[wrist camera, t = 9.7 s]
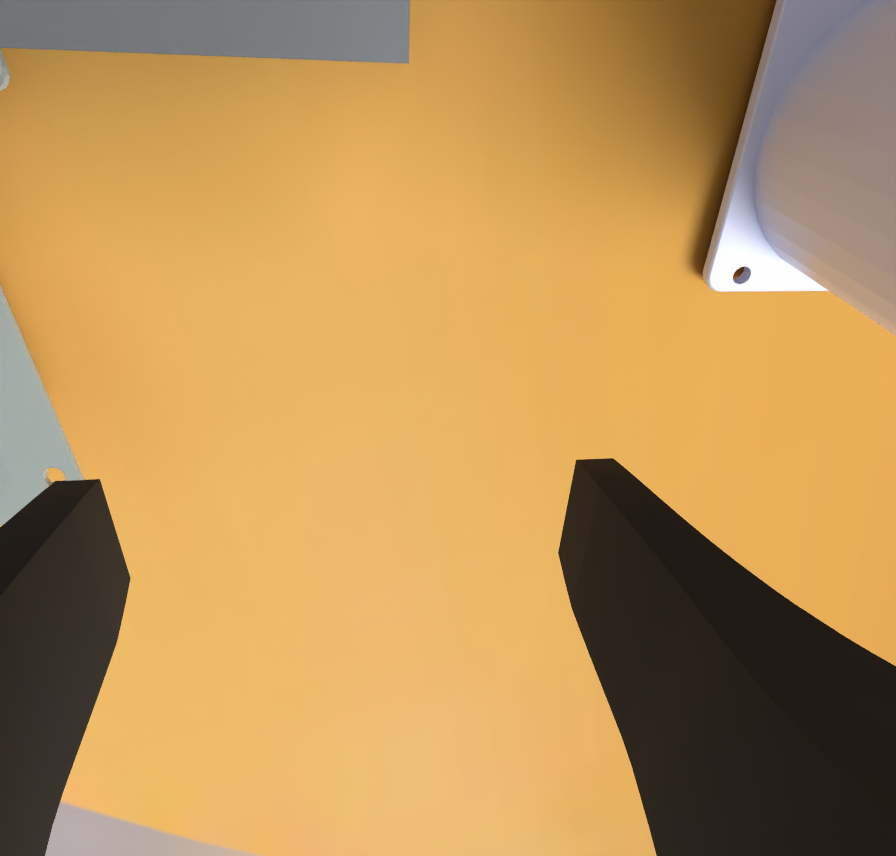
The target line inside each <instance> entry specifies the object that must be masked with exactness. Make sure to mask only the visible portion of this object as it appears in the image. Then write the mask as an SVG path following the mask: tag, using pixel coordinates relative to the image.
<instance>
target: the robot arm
mask: <svg viewBox="0 0 896 856" xmlns="http://www.w3.org/2000/svg"><path fill="white" fill-rule="evenodd" d="M740 267H744V271H743V273H742V275H740V276H739V277H738V278H735V279H733V275H734V273H735V271H736V270H737V269H739V268H740ZM703 280H704V282H705V283H706V284H707V285H708V286H709V287H710V288H711V289H713V290H714V291H719V292H732V291H830V292H831V293H833V294H834V295H836V296H837V297H839V298H840V299H842V300H843V301H845V302H846V303H848V304H849V305H851V306H852V307H853V308H855V309H856V310H858V311H859V312H861V313H862V314H864V315H865V316H867V317H868V318H870V319H871V320H873V321H874V322H876V323H877V324H879V325H880V326H882V327H883V328H885V329H886V330H888V331H889V332H891V333H892V334H894V335H895V336H896V0H777V1H776V4H775V8H774V12H773V16H772V19H771V23H770V27H769V30H768V34H767V38H766V41H765V45H764V49H763V52H762V56H761V60H760V63H759V67H758V71H757V74H756V78H755V82H754V85H753V89H752V93H751V97H750V100H749V104H748V108H747V111H746V115H745V119H744V122H743V126H742V130H741V133H740V137H739V141H738V144H737V148H736V152H735V155H734V159H733V163H732V166H731V170H730V174H729V177H728V181H727V185H726V189H725V192H724V196H723V200H722V203H721V207H720V211H719V214H718V218H717V222H716V225H715V229H714V233H713V236H712V240H711V244H710V247H709V251H708V255H707V258H706V262H705V266H704V270H703ZM558 553H559V558H560V562H561V566H562V570H563V575H564V579H565V583H566V587H567V591H568V595H569V599H570V602H571V606H572V610H573V612H574V615H575V618H576V620H577V623H578V626H579V628H580V631H581V634H582V636H583V639H584V641H585V644H586V647H587V649H588V652H589V654H590V657H591V659H592V662H593V665H594V667H595V670H596V672H597V675H598V677H599V680H600V682H601V685H602V687H603V690H604V693H605V695H606V698H607V700H608V703H609V705H610V708H611V710H612V713H613V716H614V718H615V721H616V723H617V726H618V728H619V731H620V733H621V736H622V739H623V742H624V745H625V747H626V750H627V753H628V756H629V759H630V762H631V765H632V768H633V772H634V775H635V779H636V782H637V786H638V789H639V793H640V796H641V800H642V803H643V807H644V810H645V814H646V817H647V821H648V824H649V828H650V832H651V835H652V839H653V843H654V847H655V851H656V854H657V856H896V666H894V665H892V664H891V663H889V662H887V661H885V660H884V659H882V658H880V657H878V656H877V655H875V654H873V653H871V652H870V651H868V650H866V649H865V648H863V647H861V646H860V645H858V644H856V643H855V642H853V641H851V640H850V639H848V638H846V637H845V636H843V635H841V634H840V633H838V632H837V631H835V630H834V629H832V628H831V627H829V626H828V625H826V624H824V623H823V622H821V621H820V620H818V619H817V618H815V617H814V616H812V615H811V614H809V613H808V612H806V611H804V610H803V609H801V608H800V607H798V606H797V605H795V604H794V603H792V602H791V601H789V600H788V599H787V598H785V597H784V596H782V595H781V594H779V593H778V592H777V591H775V590H774V589H772V588H771V587H770V586H768V585H767V584H766V583H764V582H763V581H762V580H760V579H759V578H758V577H756V576H755V575H754V574H752V573H751V572H750V571H748V570H747V569H745V568H744V567H743V566H741V565H740V564H739V563H737V562H736V561H735V560H734V559H732V558H731V557H730V556H728V555H727V554H726V553H725V552H723V551H722V550H721V549H720V548H718V547H717V546H716V545H715V544H713V543H712V542H711V541H710V540H708V539H707V538H706V537H705V536H704V535H702V534H701V533H700V532H699V531H698V530H696V529H695V528H694V527H693V526H691V525H690V524H689V523H688V522H687V521H686V520H684V519H683V518H682V517H681V516H680V515H678V514H677V513H676V512H675V511H674V510H673V509H671V508H670V507H669V506H668V505H667V504H666V503H665V502H663V501H662V500H661V499H660V498H659V497H658V496H656V495H655V494H654V493H653V492H652V491H651V490H650V489H648V488H647V487H646V486H645V485H644V484H643V483H642V482H640V481H639V480H638V479H637V478H636V477H635V476H633V475H632V474H631V473H630V472H629V471H628V470H626V469H625V468H624V467H623V466H622V465H620V464H619V463H618V462H617V461H615V460H614V459H613V458H611V459H587V460H576V464H575V469H574V474H573V480H572V485H571V490H570V495H569V500H568V505H567V511H566V516H565V521H564V526H563V531H562V537H561V542H560V547H559V552H558ZM129 582H130V576H129V572H128V569H127V566H126V563H125V559H124V556H123V553H122V550H121V546H120V543H119V540H118V537H117V534H116V530H115V527H114V524H113V521H112V517H111V514H110V511H109V508H108V504H107V501H106V498H105V495H104V492H103V488H102V485H101V482H100V479H96V480H72V481H55V482H54V483H52V484H51V485H50V486H49V487H47V488H46V489H45V490H44V491H42V492H41V493H40V494H39V495H38V496H36V497H35V498H34V499H33V500H32V501H30V502H29V503H28V504H27V505H26V506H25V507H23V508H22V509H21V510H20V511H19V512H18V513H16V514H15V515H14V516H13V517H12V518H11V519H9V520H8V521H7V522H6V523H5V524H4V525H3V526H1V527H0V856H45V852H46V849H47V844H48V841H49V837H50V833H51V829H52V825H53V822H54V819H55V816H56V813H57V809H58V806H59V803H60V800H61V797H62V794H63V791H64V788H65V785H66V782H67V779H68V777H69V774H70V771H71V768H72V766H73V763H74V760H75V757H76V755H77V752H78V749H79V746H80V744H81V741H82V738H83V735H84V733H85V730H86V727H87V724H88V722H89V719H90V716H91V713H92V711H93V708H94V705H95V702H96V700H97V697H98V694H99V691H100V688H101V686H102V683H103V680H104V677H105V674H106V671H107V669H108V666H109V663H110V660H111V657H112V654H113V651H114V649H115V646H116V643H117V639H118V635H119V630H120V626H121V621H122V617H123V613H124V608H125V603H126V598H127V593H128V588H129Z"/></svg>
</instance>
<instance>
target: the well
mask: <svg viewBox="0 0 896 856" xmlns="http://www.w3.org/2000/svg"><path fill="white" fill-rule="evenodd" d="M409 9H410V0H0V48H23V49H49V50H75V51H101V52H127V53H152V54H178V55H204V56H230V57H256V58H282V59H307V60H333V61H359V62H385V63H409Z"/></svg>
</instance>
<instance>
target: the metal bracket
mask: <svg viewBox="0 0 896 856" xmlns="http://www.w3.org/2000/svg"><path fill="white" fill-rule="evenodd" d="M9 80H10V73H9V68H8V66H7V63H6V61H5V58H4V56H3V53H2V50H1V48H0V91H1V90H3V89H5V88H6V87H7V85H8V84H9ZM48 468H58V469H60V470H62V472H63V473H64V474H65V478H66V481H72V480H84V478H83V475H82V473H81V471H80V468H79V466H78V464H77V461H76V459H75V457H74V454H73V452H72V450H71V447H70V445H69V443H68V440H67V438H66V436H65V434H64V431H63V429H62V427H61V424H60V422H59V420H58V417H57V415H56V413H55V410H54V408H53V406H52V403H51V401H50V399H49V397H48V394H47V392H46V390H45V387H44V385H43V383H42V380H41V378H40V376H39V373H38V371H37V369H36V366H35V364H34V362H33V359H32V357H31V355H30V353H29V350H28V348H27V346H26V343H25V341H24V339H23V336H22V334H21V332H20V329H19V327H18V325H17V322H16V320H15V318H14V316H13V313H12V311H11V309H10V306H9V304H8V302H7V299H6V297H5V295H4V292H3V290H2V288H1V285H0V525H4V524H5V523H6V522H7V521H8V520H9V519H11V518H12V517H13V516H14V515H15V514H16V513H18V512H19V511H20V510H21V509H22V508H23V507H25V506H26V505H27V504H28V503H29V502H30V501H32V500H33V499H34V498H35V497H36V496H38V495H39V494H40V493H41V492H42V491H44V490H45V489H46V488H47V487H49V486H50V485H51V484H52V483H53V482H51V481H50V480H49V478H48V477H47V470H48Z"/></svg>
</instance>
